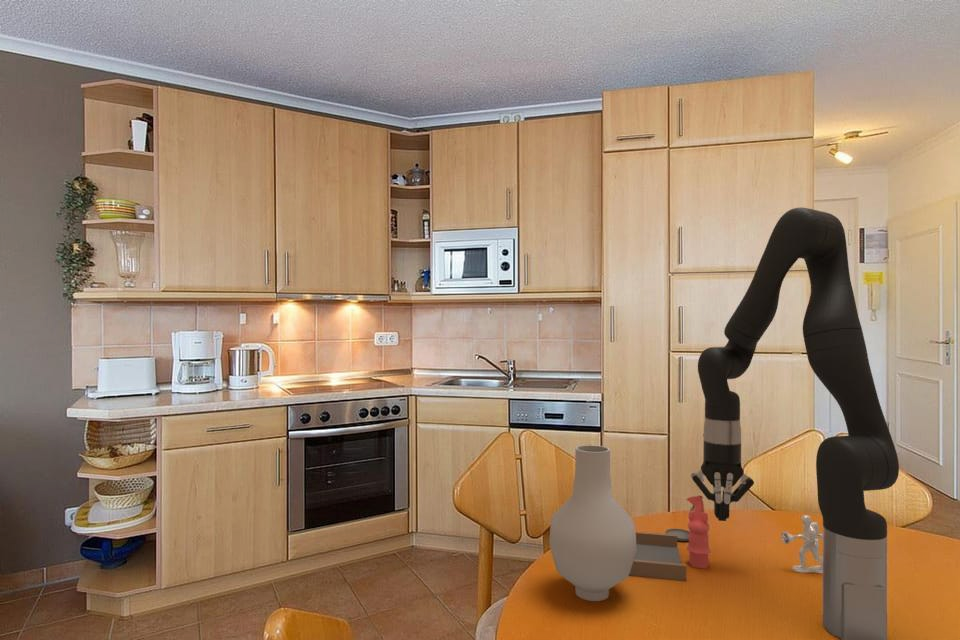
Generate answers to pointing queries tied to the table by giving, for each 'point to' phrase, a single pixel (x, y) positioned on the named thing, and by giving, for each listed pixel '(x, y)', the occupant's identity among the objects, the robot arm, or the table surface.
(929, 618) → the table surface
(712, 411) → the robot arm
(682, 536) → the pocket watch
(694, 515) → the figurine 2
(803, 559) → the figurine
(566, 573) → the vase
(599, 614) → the table surface
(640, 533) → the tray
